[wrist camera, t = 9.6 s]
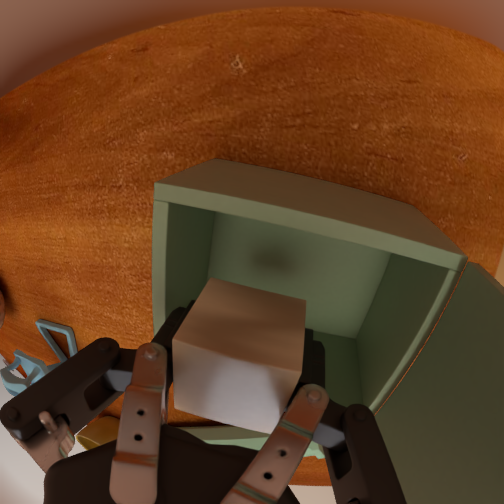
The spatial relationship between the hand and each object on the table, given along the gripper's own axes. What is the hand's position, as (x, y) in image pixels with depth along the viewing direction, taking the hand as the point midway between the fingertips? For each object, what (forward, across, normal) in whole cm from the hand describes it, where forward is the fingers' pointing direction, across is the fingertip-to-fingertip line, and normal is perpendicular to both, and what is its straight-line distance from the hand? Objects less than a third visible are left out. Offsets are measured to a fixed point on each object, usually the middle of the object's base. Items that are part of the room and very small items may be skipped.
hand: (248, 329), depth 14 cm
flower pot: (+9, +19, +39) cm, 44 cm away
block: (0, 0, 0) cm, 0 cm away
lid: (-8, -10, 0) cm, 13 cm away
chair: (+9, +25, +21) cm, 34 cm away
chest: (+9, -2, 0) cm, 9 cm away
